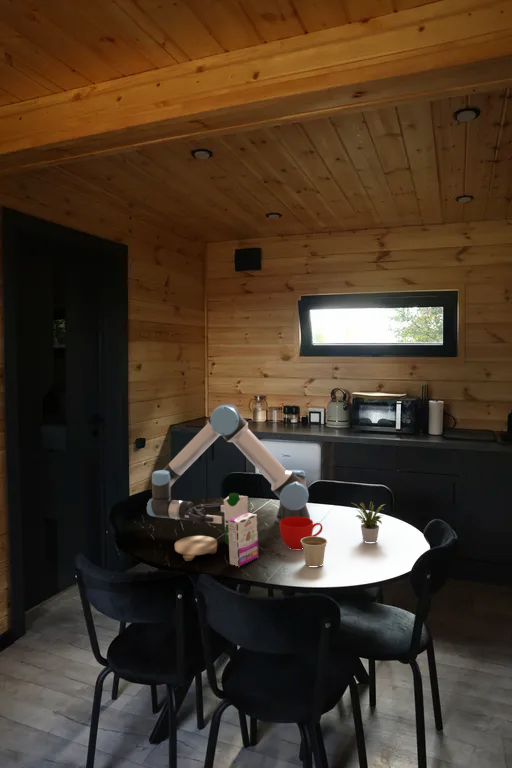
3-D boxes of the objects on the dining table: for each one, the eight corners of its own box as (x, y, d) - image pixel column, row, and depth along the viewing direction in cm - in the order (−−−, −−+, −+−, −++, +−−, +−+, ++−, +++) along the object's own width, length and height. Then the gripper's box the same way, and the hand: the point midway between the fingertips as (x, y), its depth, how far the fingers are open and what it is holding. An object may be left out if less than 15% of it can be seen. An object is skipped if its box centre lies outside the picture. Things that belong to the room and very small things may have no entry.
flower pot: (299, 560, 191) (298, 536, 190) (324, 558, 192) (324, 535, 191) (303, 570, 181) (303, 546, 181) (330, 569, 182) (329, 544, 182)
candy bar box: (248, 554, 197) (248, 511, 196) (259, 558, 193) (258, 514, 192) (228, 564, 188) (227, 519, 187) (238, 567, 185) (237, 522, 184)
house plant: (345, 545, 204) (344, 504, 203) (352, 533, 217) (351, 495, 216) (382, 550, 199) (382, 507, 198) (387, 537, 211) (387, 497, 210)
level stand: (224, 548, 204) (223, 538, 203) (205, 564, 189) (205, 553, 188) (187, 543, 209) (187, 533, 209) (167, 558, 194) (166, 548, 194)
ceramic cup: (327, 551, 199) (327, 525, 198) (283, 554, 196) (283, 528, 195) (317, 539, 211) (317, 514, 211) (276, 542, 209) (276, 517, 208)
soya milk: (222, 544, 207) (221, 495, 206) (231, 537, 216) (229, 489, 215) (243, 547, 205) (242, 496, 203) (251, 539, 213) (250, 490, 212)
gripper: (196, 510, 230) (240, 514, 222) (166, 528, 207) (215, 534, 199) (195, 493, 230) (240, 497, 222) (166, 509, 206) (214, 514, 199)
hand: (228, 514), depth 210 cm, fingers open, 13 cm apart
